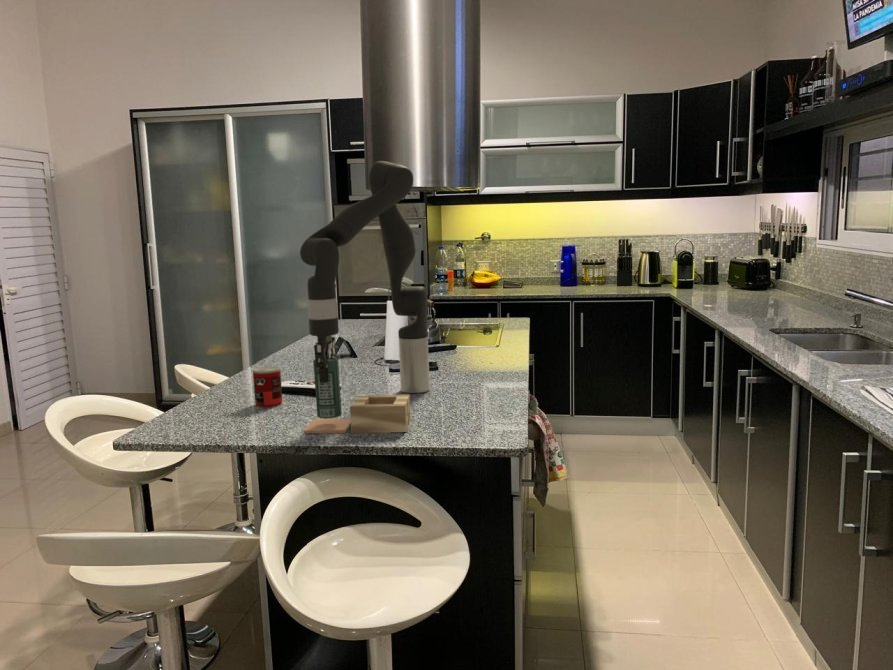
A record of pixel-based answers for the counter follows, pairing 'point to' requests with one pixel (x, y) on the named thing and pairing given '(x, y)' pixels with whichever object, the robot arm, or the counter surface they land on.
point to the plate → (328, 426)
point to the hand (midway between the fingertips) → (327, 379)
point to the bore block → (380, 414)
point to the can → (328, 391)
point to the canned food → (267, 386)
